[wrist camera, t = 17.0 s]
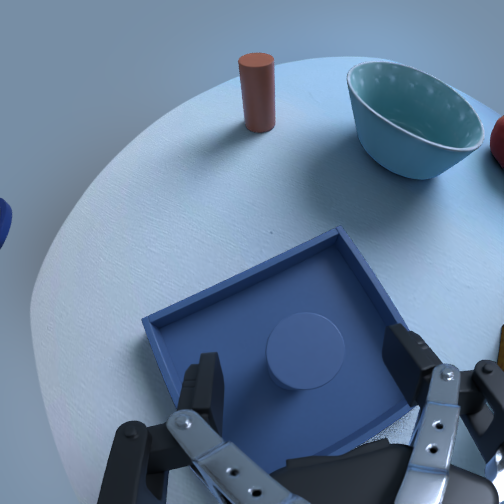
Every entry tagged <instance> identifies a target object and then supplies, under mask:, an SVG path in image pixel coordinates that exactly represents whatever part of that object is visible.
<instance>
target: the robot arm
mask: <svg viewBox="0 0 504 504" xmlns="http://www.w3.org/2000/svg"><path fill="white" fill-rule="evenodd" d="M0 216H1V209H0ZM382 359H383V362H384V364H385V366H386V367H387V369H388V371H389V372H390V374H391V376H392V377H393V379H394V381H395V382H396V384H397V386H398V387H399V389H400V391H401V393H402V394H403V396H404V398H405V399H406V401H407V403H408V405H409V406H410V408H411V407H414V406H417V405H419V406H420V410H419V413H418V417H417V420H416V423H415V427H414V430H413V433H412V436H411V439H410V442H409V445H404V444H389V441H388V439H387V438H384V439H380V440H377V441H374V442H370V443H366V444H363V445H361V446H359V447H357V448H355V449H353V450H351V451H349V452H347V453H345V454H343V455H339V456H307V457H300V458H294V459H287V460H286V466H285V467H283V468H280V469H278V470H276V471H274V472H272V473H270V474H267V473H266V472H265V471H264V470H263V469H262V468H260V467H259V466H258V465H257V464H256V463H255V462H253V461H252V460H251V459H250V458H249V457H248V456H247V455H246V454H244V453H243V452H242V451H241V450H240V449H239V448H238V447H237V446H236V445H235V444H234V443H232V442H231V441H227V442H226V441H224V440H223V439H222V425H223V407H224V390H225V385H224V377H223V372H222V368H221V364H220V360H219V356H218V353H217V352H207V353H201V355H200V360H199V364H191V365H190V366H189V367H188V369H187V370H186V371H185V375H184V379H183V383H182V388H181V392H180V397H179V401H178V406H177V410H176V412H174V413H173V414H172V415H170V416H169V418H168V420H167V422H165V423H163V424H160V425H155V426H151V427H146V426H145V424H143V423H142V422H140V421H128V422H126V423H123V424H122V425H121V426H119V428H118V429H117V431H116V434H115V437H114V441H113V444H112V448H111V451H110V455H109V458H108V462H107V466H106V470H105V473H104V477H103V481H102V485H101V489H100V494H99V498H98V502H97V504H166V497H167V486H168V475H169V470H172V469H177V468H181V467H185V466H189V467H190V468H191V469H192V471H193V472H194V473H195V474H196V475H197V477H198V478H199V479H200V480H201V481H202V482H203V484H204V485H205V486H206V487H207V488H208V489H209V490H210V491H211V493H212V494H213V495H214V496H215V498H216V499H217V500H218V501H219V503H220V504H504V372H503V370H502V369H501V368H500V367H499V366H498V365H497V364H496V363H495V362H493V361H491V360H481V361H479V362H478V363H477V364H476V366H475V368H474V370H470V371H459V369H458V368H457V367H455V366H454V365H451V364H443V363H442V362H441V361H440V359H439V358H438V357H437V356H436V354H435V353H434V352H433V351H432V350H431V348H429V346H428V345H427V344H426V343H425V341H424V340H423V339H422V338H421V337H420V335H418V334H416V333H414V332H413V331H407V329H406V328H405V327H404V326H403V325H402V324H401V323H399V324H394V325H390V326H386V328H385V332H384V340H383V347H382ZM486 402H488V403H489V405H490V406H491V408H492V409H493V412H494V415H493V413H492V412H491V410H490V409H489V407H488V406H487V404H486ZM459 415H460V417H461V419H462V420H463V422H464V424H465V426H466V427H467V429H468V431H469V433H470V435H471V436H472V438H473V440H474V442H475V444H476V445H477V447H478V449H479V451H480V453H481V455H482V457H483V459H484V461H485V462H486V464H487V465H486V467H485V476H486V477H485V478H484V477H482V476H479V475H477V474H474V473H472V472H469V471H467V470H464V469H462V468H459V467H457V466H454V465H452V464H450V462H451V458H452V454H453V449H454V444H455V439H456V434H457V428H458V422H459Z"/></svg>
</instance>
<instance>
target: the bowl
mask: <svg viewBox="0 0 504 504" xmlns="http://www.w3.org/2000/svg"><path fill="white" fill-rule="evenodd" d="M347 84H348V89H349V95H350V99H351V105H352V110H353V114H354V119H355V123H356V129H357V134H358V138H359V140H360V143H361V144H362V146H363V148H364V149H365V150H366V152H367V153H368V154H369V155H370V156H371V157H372V158H373V159H374V160H375V161H376V162H378V163H379V164H380V165H382V166H383V167H384V168H386V169H388V170H389V171H391V172H393V173H396V174H398V175H401V176H404V177H407V178H412V179H420V180H424V179H431V178H434V177H436V176H438V175H440V174H441V173H443V172H444V171H446V170H448V169H449V168H451V167H452V166H454V165H455V164H457V163H458V162H460V161H461V160H463V159H464V158H465V157H467V156H468V155H469V154H471V153H472V152H473V151H475V150H476V149H477V148H479V147H480V146H481V144H482V143H483V140H484V128H483V125H482V122H481V120H480V118H479V116H478V115H477V113H476V112H475V110H474V109H473V108H472V106H471V105H470V104H469V103H468V102H467V101H466V100H465V99H464V98H463V97H462V96H461V95H460V94H459V93H458V92H456V91H455V90H454V89H452V88H451V87H450V86H448V85H447V84H445V83H444V82H442V81H441V80H439V79H437V78H435V77H433V76H432V75H430V74H427V73H425V72H423V71H421V70H418V69H416V68H413V67H410V66H406V65H403V64H398V63H393V62H386V61H369V62H363V63H360V64H357V65H355V66H354V67H352V68H351V69H350V70H349V72H348V74H347Z"/></svg>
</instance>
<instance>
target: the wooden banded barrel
mask: <svg viewBox="0 0 504 504" xmlns="http://www.w3.org/2000/svg"><path fill="white" fill-rule="evenodd" d="M497 365H498V366H499V367H500V368H501V369H502V370H503V372H504V325H503V326H502V333H501V342H500V349H499V356H498V362H497Z"/></svg>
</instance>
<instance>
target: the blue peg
mask: <svg viewBox="0 0 504 504" xmlns="http://www.w3.org/2000/svg"><path fill="white" fill-rule="evenodd" d="M265 354H266V361H267V367H268V372H269V375H270V378H271V379H272V381H273V382H274V383H275V384H276V385H277V386H279V387H281V388H283V389H286V390H312V389H316V388H319V387H322V386H324V385H326V384H327V383H329V382H330V381H331V380H332V379H333V378H334V377H335V376H336V375H337V374H338V372H339V371H340V369H341V367H342V364H343V361H344V357H345V345H344V340H343V337H342V335H341V333H340V331H339V330H338V328H337V327H336V326H335V325H334V324H333V323H332V322H331V321H330V320H328V319H327V318H325V317H323V316H321V315H318V314H315V313H307V312H305V313H297V314H293V315H290V316H288V317H286V318H285V319H283V320H282V321H280V322H279V323H278V324H277V325H276V326H275V327H274V328H273V330H272V331H271V333H270V335H269V337H268V339H267V343H266V349H265Z"/></svg>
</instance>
